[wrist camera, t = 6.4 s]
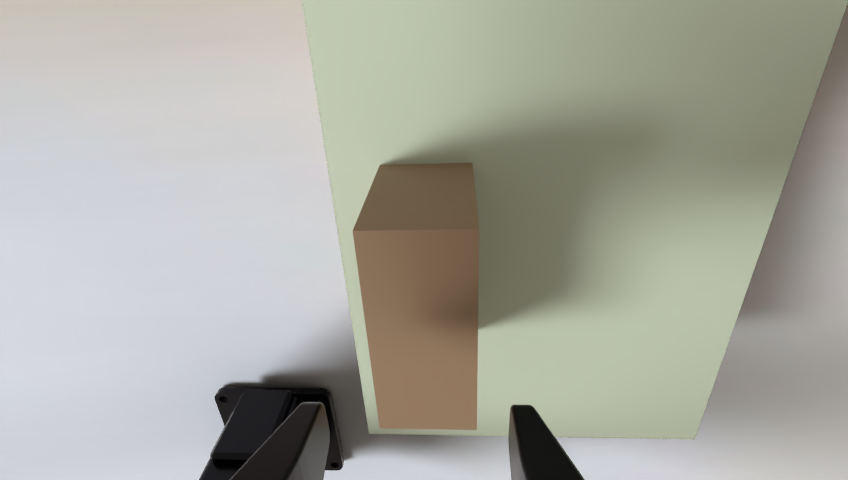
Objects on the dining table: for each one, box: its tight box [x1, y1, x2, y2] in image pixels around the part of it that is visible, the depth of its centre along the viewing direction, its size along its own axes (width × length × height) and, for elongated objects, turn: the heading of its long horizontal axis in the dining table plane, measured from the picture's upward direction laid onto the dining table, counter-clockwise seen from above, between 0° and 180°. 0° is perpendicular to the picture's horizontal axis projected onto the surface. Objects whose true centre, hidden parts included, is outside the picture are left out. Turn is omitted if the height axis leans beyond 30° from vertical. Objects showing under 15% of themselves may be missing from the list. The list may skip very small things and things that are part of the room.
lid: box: [302, 0, 848, 439], centre depth 12 cm, size 19×13×5 cm
